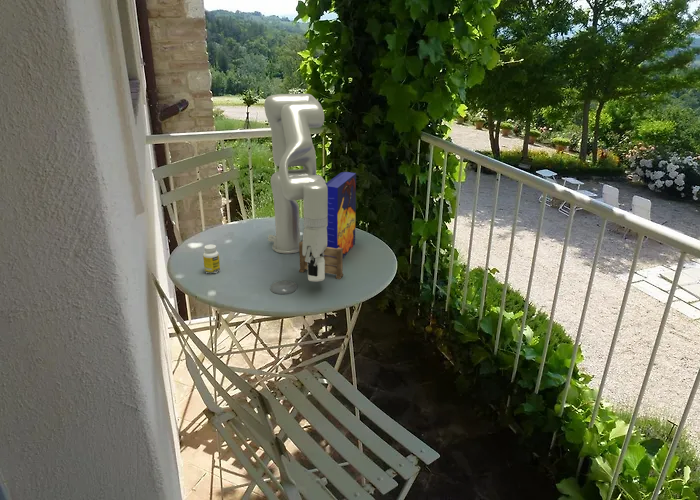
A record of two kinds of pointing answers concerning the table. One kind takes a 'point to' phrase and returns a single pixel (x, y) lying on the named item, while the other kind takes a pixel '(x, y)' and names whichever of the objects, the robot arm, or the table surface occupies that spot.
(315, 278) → the eye dropper bottle
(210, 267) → the supplement bottle
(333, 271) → the brown piece
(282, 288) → the coaster
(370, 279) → the table surface
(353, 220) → the cereal box
